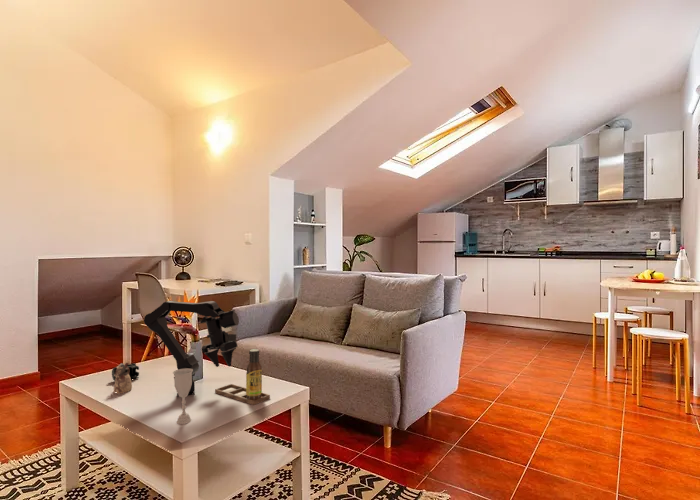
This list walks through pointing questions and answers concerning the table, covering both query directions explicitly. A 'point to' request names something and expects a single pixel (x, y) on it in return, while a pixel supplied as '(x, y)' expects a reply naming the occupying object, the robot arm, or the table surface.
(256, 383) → the sauce bottle
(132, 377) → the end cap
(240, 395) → the brown compartment tray
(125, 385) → the figurine
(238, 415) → the table surface
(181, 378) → the chalice
